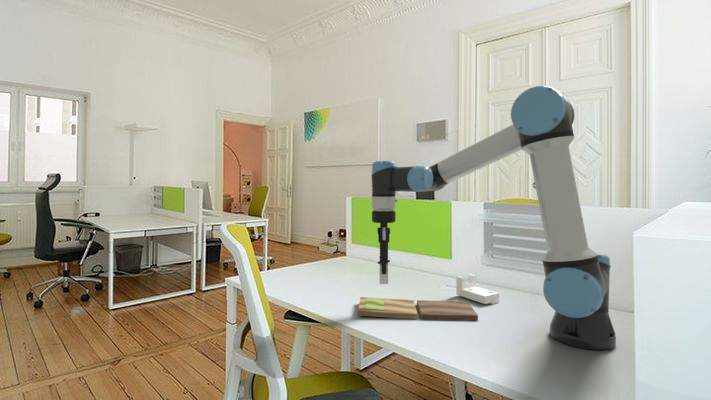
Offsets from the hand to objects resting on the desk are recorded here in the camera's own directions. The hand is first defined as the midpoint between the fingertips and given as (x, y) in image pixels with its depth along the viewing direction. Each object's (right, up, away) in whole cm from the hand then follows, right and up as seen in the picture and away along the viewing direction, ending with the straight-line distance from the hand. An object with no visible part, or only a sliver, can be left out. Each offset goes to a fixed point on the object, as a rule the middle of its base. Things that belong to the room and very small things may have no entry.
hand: (383, 283), depth 124 cm
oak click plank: (+1, -9, +1) cm, 9 cm away
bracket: (+34, -9, +13) cm, 38 cm away
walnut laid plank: (+20, -9, -1) cm, 22 cm away
